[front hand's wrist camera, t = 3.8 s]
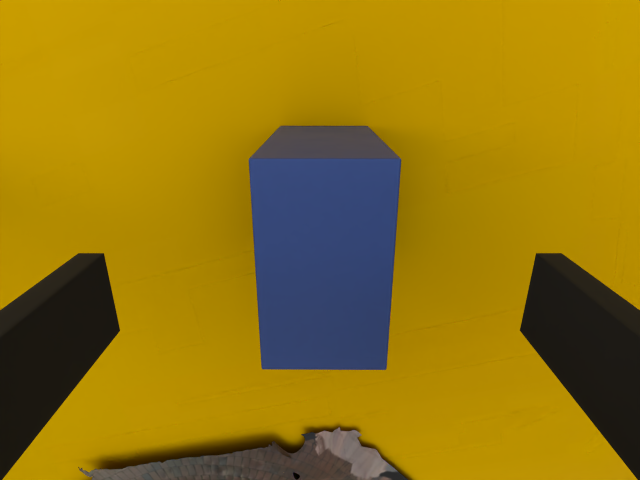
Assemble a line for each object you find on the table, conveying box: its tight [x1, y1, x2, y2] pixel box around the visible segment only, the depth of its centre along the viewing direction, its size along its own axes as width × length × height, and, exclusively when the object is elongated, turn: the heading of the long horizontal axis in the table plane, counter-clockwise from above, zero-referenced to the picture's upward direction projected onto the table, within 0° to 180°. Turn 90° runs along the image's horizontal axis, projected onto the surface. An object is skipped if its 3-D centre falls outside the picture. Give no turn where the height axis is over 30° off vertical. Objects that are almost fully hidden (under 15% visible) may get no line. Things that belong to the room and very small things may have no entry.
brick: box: [249, 126, 401, 370], centre depth 19 cm, size 5×8×10 cm, turn 0°
